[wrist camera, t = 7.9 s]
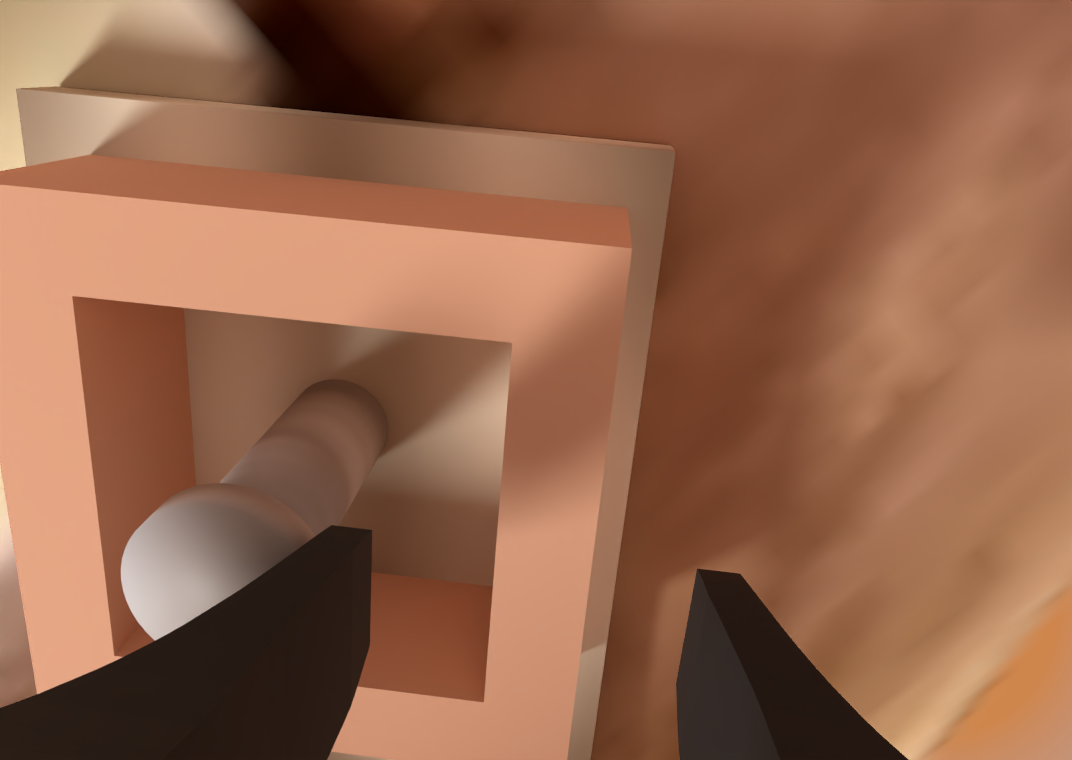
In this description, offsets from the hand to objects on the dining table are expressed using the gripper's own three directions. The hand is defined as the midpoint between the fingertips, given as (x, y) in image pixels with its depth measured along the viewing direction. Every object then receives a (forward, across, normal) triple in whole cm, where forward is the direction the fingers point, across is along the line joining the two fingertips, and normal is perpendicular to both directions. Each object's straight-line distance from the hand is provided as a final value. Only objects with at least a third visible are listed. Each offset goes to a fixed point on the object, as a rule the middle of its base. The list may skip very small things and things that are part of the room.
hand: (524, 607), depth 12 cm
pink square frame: (+5, +4, 0) cm, 7 cm away
